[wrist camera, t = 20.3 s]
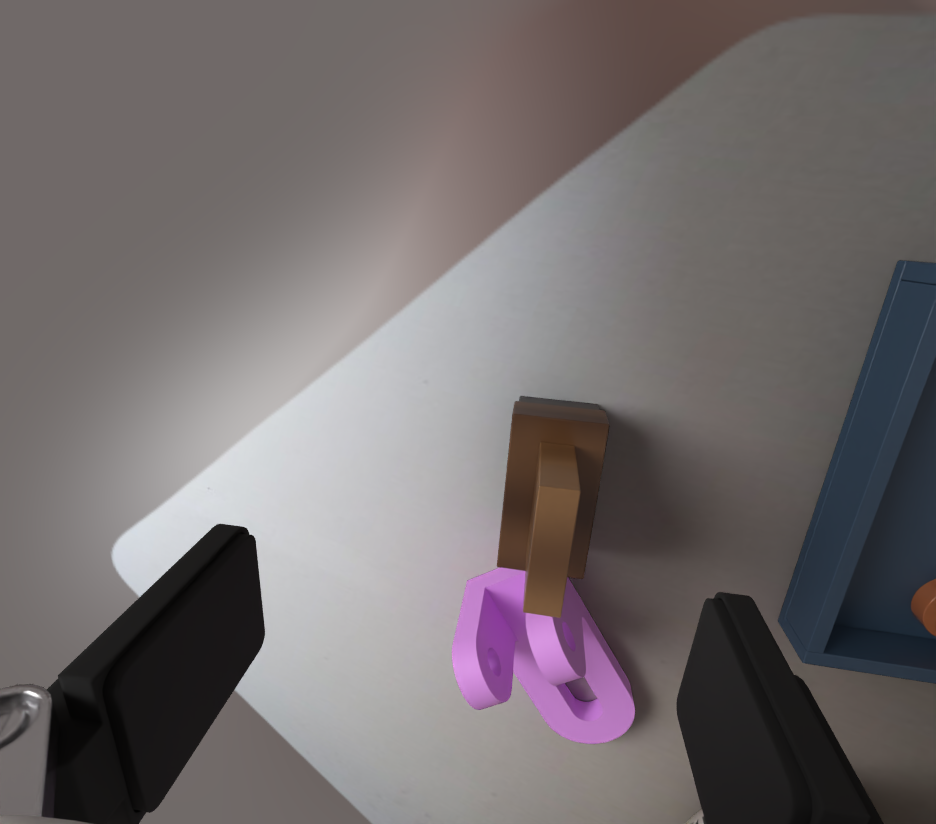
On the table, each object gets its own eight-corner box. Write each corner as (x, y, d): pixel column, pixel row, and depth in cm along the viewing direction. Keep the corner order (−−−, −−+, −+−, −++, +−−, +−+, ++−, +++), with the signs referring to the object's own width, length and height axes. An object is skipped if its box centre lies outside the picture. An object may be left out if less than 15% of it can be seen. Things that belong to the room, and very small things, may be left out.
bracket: (467, 580, 32) (446, 671, 25) (550, 547, 30) (551, 635, 23) (565, 733, 34) (569, 850, 28) (646, 710, 33) (670, 828, 26)
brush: (516, 391, 27) (505, 452, 20) (602, 400, 27) (624, 467, 19) (502, 530, 30) (487, 630, 23) (579, 541, 30) (590, 646, 22)
